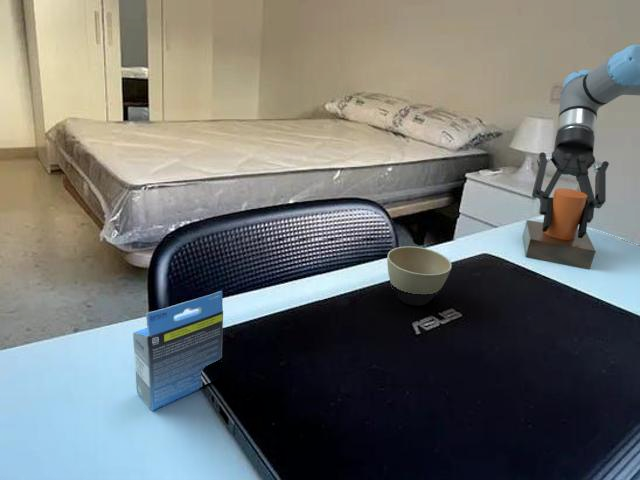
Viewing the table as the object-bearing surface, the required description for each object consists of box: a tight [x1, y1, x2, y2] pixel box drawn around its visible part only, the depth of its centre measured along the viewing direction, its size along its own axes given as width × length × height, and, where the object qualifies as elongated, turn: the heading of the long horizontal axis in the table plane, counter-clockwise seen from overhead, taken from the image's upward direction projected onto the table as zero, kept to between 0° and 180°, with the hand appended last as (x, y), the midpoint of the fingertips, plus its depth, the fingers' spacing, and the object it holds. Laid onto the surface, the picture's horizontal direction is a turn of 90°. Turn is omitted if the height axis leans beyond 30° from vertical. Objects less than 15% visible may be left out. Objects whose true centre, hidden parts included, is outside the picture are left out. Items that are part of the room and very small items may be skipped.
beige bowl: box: [386, 245, 453, 295], centre depth 80 cm, size 10×10×7 cm
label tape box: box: [132, 290, 224, 411], centre depth 55 cm, size 9×4×12 cm, turn 133°
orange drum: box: [544, 187, 588, 240], centre depth 101 cm, size 6×6×9 cm
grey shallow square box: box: [522, 219, 596, 270], centre depth 104 cm, size 12×12×4 cm
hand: (563, 231), depth 99 cm, fingers closed on orange drum, 6 cm apart
